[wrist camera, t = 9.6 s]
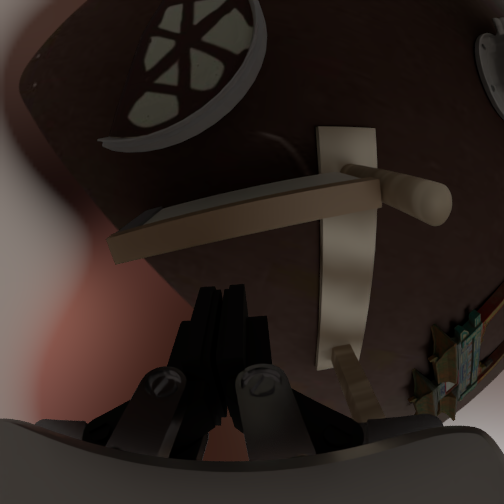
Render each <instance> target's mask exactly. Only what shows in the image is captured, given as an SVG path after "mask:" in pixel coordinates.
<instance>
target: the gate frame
mask: <svg viewBox="0 0 504 504" xmlns="http://www.w3.org/2000/svg"><path fill="white" fill-rule="evenodd" d="M316 140H317V154H318V172H319V174H323V173H330V172H340V173H343V174H347V175H351V176H354V177H358V178H367V177H373V178H377V179H379V181H380V191H381V202H383V203H385V204H388V205H390V206H392V207H394V208H396V209H399V210H401V211H403V212H405V213H407V214H409V215H411V216H413V217H415V218H417V219H420V220H422V221H424V222H426V223H428V224H430V225H432V226H439V225H441V224H443V223H444V222H445V221H446V220H447V218H448V216H449V214H450V212H451V208H452V197H451V193H450V191H449V189H448V188H447V187H446V186H445V185H444V184H441V183H437V182H434V181H430V180H426V179H422V178H418V177H414V176H410V175H406V174H401V173H397V172H392V171H388V170H383V169H378V168H377V149H376V131H375V128H360V127H326V126H318V127H316ZM376 222H377V208H376V209H370V210H365V211H360V212H355V213H350V214H345V215H339V216H334V217H329V218H324V219H320V297H319V321H318V338H317V353H316V369H317V371H318V370H324V369H329V368H334V370H335V372H336V375H337V378H338V380H339V383H340V385H341V388H342V391H343V393H344V396H345V399H346V401H347V404H348V407H349V409H350V412H351V415H352V418H353V420H354V421H356V422H358V423H362V422H367V420H368V419H381V418H385V415H384V413H383V411H382V409H381V407H380V404H379V402H378V400H377V398H376V396H375V394H374V392H373V390H372V388H371V385H370V383H369V381H368V379H367V377H366V375H365V373H364V371H363V369H362V367H361V365H360V363H359V357H360V352H361V347H362V342H363V337H364V331H365V325H366V319H367V313H368V306H369V299H370V292H371V284H372V275H373V265H374V253H375V240H376Z"/></svg>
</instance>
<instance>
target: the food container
mask: <svg viewBox="0 0 504 504" xmlns="http://www.w3.org/2000/svg"><path fill="white" fill-rule="evenodd" d="M266 44H267V30H266V23H265V19H264V16H263V13H262V10H261V7H260V4H259V1H258V0H163V1H162V3H161V4H160V6H159V7H158V9H157V10H156V12H155V14H154V15H153V17H152V18H151V20H150V22H149V23H148V25H147V27H146V29H145V30H144V32H143V34H142V36H141V39H140V41H139V44H138V47H137V49H136V52H135V55H134V58H133V61H132V64H131V67H130V70H129V73H128V77H127V80H126V83H125V86H124V89H123V92H122V95H121V98H120V101H119V104H118V107H117V110H116V114H115V117H114V120H113V124H112V128H111V131H110V135H109V136H110V137H106V138H101V139H98V140H97V141H103V145H102V146H103V147H105V148H108V149H110V150H112V151H119V152H146V151H152V150H157V149H163V148H166V147H169V146H172V145H175V144H178V143H181V142H183V141H185V140H187V139H189V138H191V137H193V136H196V135H198V134H200V133H201V132H203V131H204V130H206V129H207V128H209V127H210V126H212V125H214V124H215V123H216V122H218V121H219V120H220V119H221V118H222V117H224V116H225V115H226V114H227V113H229V112H230V111H231V110H232V109H233V108H234V107H235V105H236V104H237V103H238V102H239V101H240V100H241V99H242V98H243V97H244V96H245V94H246V93H247V91H248V90H249V88H250V87H251V85H252V84H253V83H254V81H255V79H256V77H257V75H258V72H259V70H260V68H261V66H262V63H263V59H264V56H265V52H266Z"/></svg>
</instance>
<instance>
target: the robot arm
mask: <svg viewBox="0 0 504 504" xmlns="http://www.w3.org/2000/svg"><path fill="white" fill-rule="evenodd" d="M492 21H493V23H494V26H495V28H496V31H497V33H496V36H495V35H493V34H490V33H485V34H481V35H479V36H478V37H477V39H476V42H475V58H476V64H477V68H478V72H479V75H480V78H481V81H482V84H483V86H484V89H485V91H486V93H487V95H488V98H489V99H490V101H491V103H492V105H493V107H494V108H495V110H496V111H497V113H498V114H499V115H500V116H501V118H502V119H503V120H504V18H503V17H501V18H493V19H492ZM227 406H228V410H229V413H230V416H231V417H232V420H233V423H234V426H235V428H237V429H238V430H239V431H241V432H242V433H244V437H245V441H246V447H247V451H248V457H249V461H241V462H240V461H235V462H224V461H202V459H203V456H204V452H205V448H206V445H207V442H208V436H209V433H208V432H209V431H210V430H212V429H213V428H215V425H221V417H226V416H227ZM0 504H504V454H503V452H502V451H501V449H500V448H499V446H498V445H497V444H496V442H495V441H494V440H493V439H492V438H491V437H490V436H489V435H488V434H487V433H486V432H484V431H483V430H481V429H479V428H475V427H470V426H443V424H442V421H441V420H440V419H439V418H438V417H437V416H434V415H432V414H418V415H411V416H402V417H393V418H381V419H368V420H367V422H362V423H358V422H356V421H354V420H353V419H351V418H349V417H347V416H345V415H343V414H341V413H339V412H337V411H334V410H332V409H330V408H328V407H326V406H324V405H322V404H320V403H318V402H316V401H314V400H312V399H311V398H309V397H307V396H305V395H303V394H301V393H299V392H297V391H295V390H294V389H292V388H291V386H290V383H289V381H288V378H287V376H286V374H285V373H284V371H283V370H281V369H280V368H279V367H277V366H274V365H272V359H271V350H270V341H269V331H268V322H267V316H257V317H248V311H247V302H246V294H245V286H244V284H239V285H230V287H229V289H225V290H224V296H223V299H222V293H221V290H216V288H215V286H213V287H201V288H200V290H199V294H198V297H197V300H196V304H195V307H194V311H193V314H192V318H191V321H182V322H181V324H180V327H179V330H178V334H177V336H176V339H175V343H174V346H173V349H172V352H171V355H170V359H169V362H168V365H167V367H159V368H156V369H153V370H151V371H150V372H148V373H147V374H146V375H145V376H144V378H143V379H142V380H141V382H140V384H139V385H138V388H137V389H136V391H135V393H134V394H133V396H132V398H131V400H129V401H127V402H125V403H124V404H122V405H120V406H118V407H116V408H114V409H112V410H111V411H109V412H107V413H105V414H103V415H101V416H99V417H97V418H95V419H94V420H92V421H91V422H89V423H88V424H87V423H86V422H85V421H68V420H51V419H50V420H49V419H43V420H40V421H38V422H37V423H36V424H35V425H34V424H31V423H28V422H24V421H20V420H13V419H0Z"/></svg>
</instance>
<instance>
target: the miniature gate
mask: <svg viewBox="0 0 504 504" xmlns="http://www.w3.org/2000/svg"><path fill="white" fill-rule="evenodd" d="M503 305H504V282H503V283H502V284H501V285H500V286H499V288H498V289H497V290H496V291H495V292H494V293H493V295H492V296H491V297H490V298H489V299H488V300H487V301H486V302H485V304H484V305H483V306H482V307H481V308H480V309H479V310H478V311H476V310H475V309H474V310H473V311H472V312H471V313H470V314H469V320H468V321H467V322H466V323H465V324H464V325H463V326H460V325H457V326H456V327H455V328H454V330H455V334H453V336H454V337H453V338H450V337H449V336H448V335H447V334H445V333H444V332H443V331H442V330H441V329H440V328H439V327H438V326H437V325H435V324H433V326H432V327H431V331H432V336H433V341H434V348H433V355H432V356H430V357H429V358H428V360H429V361H430V362H432V363H433V370H434V377H435V380H432V382H431V381H430V380H429V379H427V378H426V377H425V376H423V375H422V374H421V373H419V372H418V371H417V370H415V368H414V369H413V370H412V373H413V379H414V385H415V386H414V395H413V397H411V398H409V399H408V401H409V402H413V403H414V407H415V410H416V413H415V414H414V415H418V414H432V415H434V416H438V415H439V414H440V413H441V412H443V413H445V414H447V415H448V416H449V417H450V418H451V419H452V420H453V421H454V420H455V414H456V406H457V401H458V400H459V401H461V400H462V399H463V397H464V396H465V395H466V394H467V393H468V392H469V391H472V390H473V389H474V388H475V386H476V385H477V384H478V383H479V382H480V381H481V380H482V379H483V378H484V377H485V376H486V375H487V374H488V373H489V372H490V371H491V370H492V369H493V368H494V367H495V365H496V364H497V363H498V362H499V361H500V360H501V359H502V358H503V357H504V341H503V342H502V343H501V344H500V345H499V346H498V347H497V349H496V350H495V351H494V352H493V353H492V354H491V355H490V356H489V357H488V358H487V359H486V360H485V361H484V362H483V363H482V364H481V362H480V361H479V355H480V344H481V343H482V341H483V339H482V337H483V335H484V333H485V328H486V327H487V325H488V324H489V321H490V320H491V319H492V318H493V317H494V316H495V314H496V313H497V312H498V311H499V310H500V309H501V307H502V306H503ZM437 408H438V411H437Z"/></svg>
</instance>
